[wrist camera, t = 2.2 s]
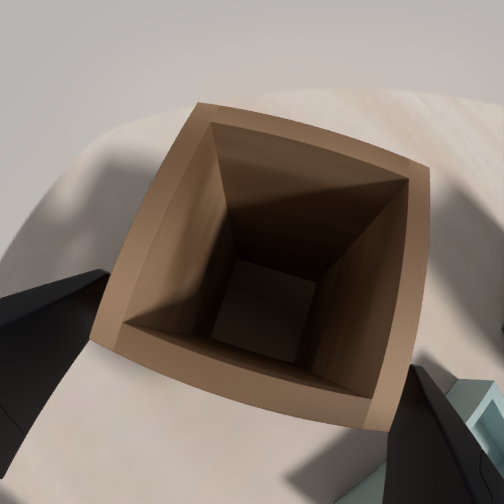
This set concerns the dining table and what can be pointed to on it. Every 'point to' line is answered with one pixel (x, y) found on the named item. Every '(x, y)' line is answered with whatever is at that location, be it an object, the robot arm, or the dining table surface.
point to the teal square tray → (477, 420)
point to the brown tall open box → (275, 268)
